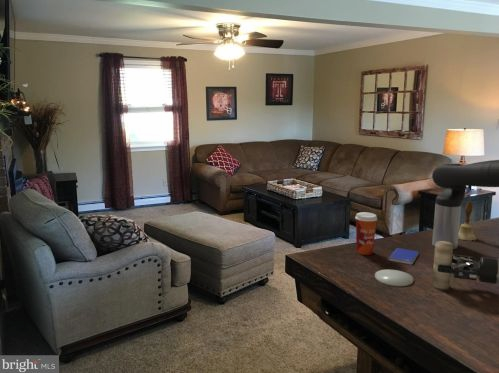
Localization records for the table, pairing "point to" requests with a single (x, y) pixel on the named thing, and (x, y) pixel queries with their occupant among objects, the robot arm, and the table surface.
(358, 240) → the coffee cup
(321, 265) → the table surface
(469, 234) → the hand bell
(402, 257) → the hard drive
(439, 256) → the wooden cylinder
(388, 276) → the white plate
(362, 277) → the table surface
